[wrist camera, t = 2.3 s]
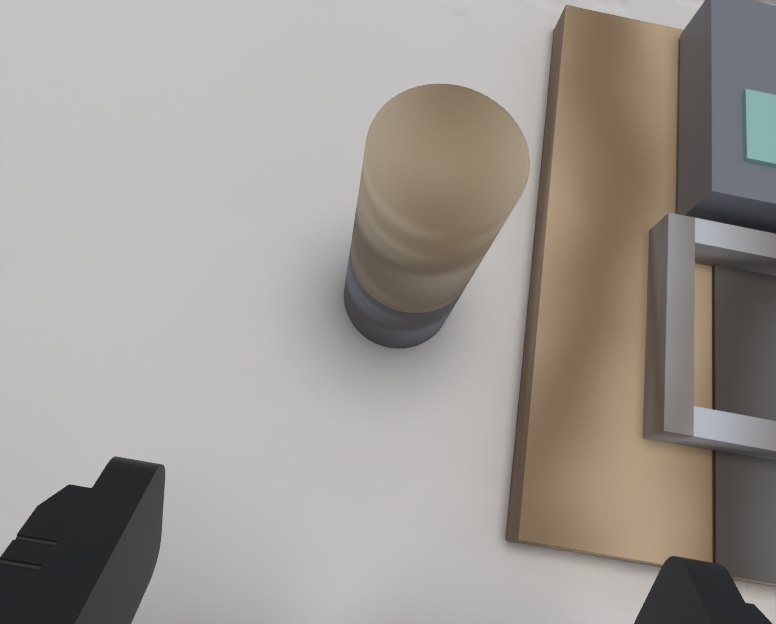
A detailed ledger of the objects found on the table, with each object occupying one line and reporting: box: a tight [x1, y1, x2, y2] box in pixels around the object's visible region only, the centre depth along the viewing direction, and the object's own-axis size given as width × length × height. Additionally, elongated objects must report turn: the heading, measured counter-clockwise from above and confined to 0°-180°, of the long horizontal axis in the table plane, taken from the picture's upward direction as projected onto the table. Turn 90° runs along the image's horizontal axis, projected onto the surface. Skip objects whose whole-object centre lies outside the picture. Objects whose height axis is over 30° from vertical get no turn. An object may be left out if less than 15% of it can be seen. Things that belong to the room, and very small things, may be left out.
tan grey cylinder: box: [344, 84, 530, 348], centre depth 21 cm, size 4×4×10 cm
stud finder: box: [677, 0, 776, 234], centre depth 27 cm, size 6×9×3 cm, turn 171°
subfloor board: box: [506, 5, 776, 586], centre depth 26 cm, size 16×22×3 cm
